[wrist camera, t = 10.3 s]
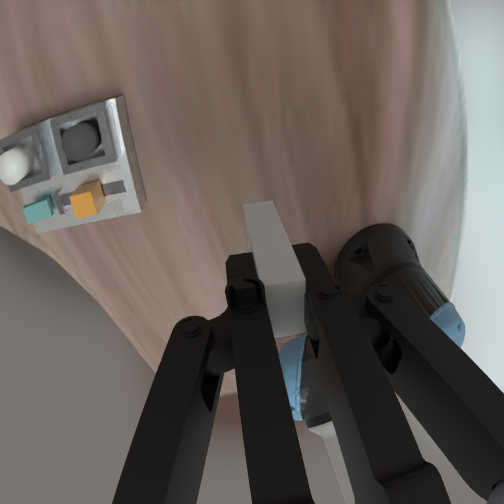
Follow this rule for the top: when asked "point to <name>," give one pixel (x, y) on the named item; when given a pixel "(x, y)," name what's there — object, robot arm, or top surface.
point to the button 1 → (15, 164)
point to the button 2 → (81, 140)
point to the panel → (81, 165)
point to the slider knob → (87, 200)
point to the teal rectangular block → (38, 210)
